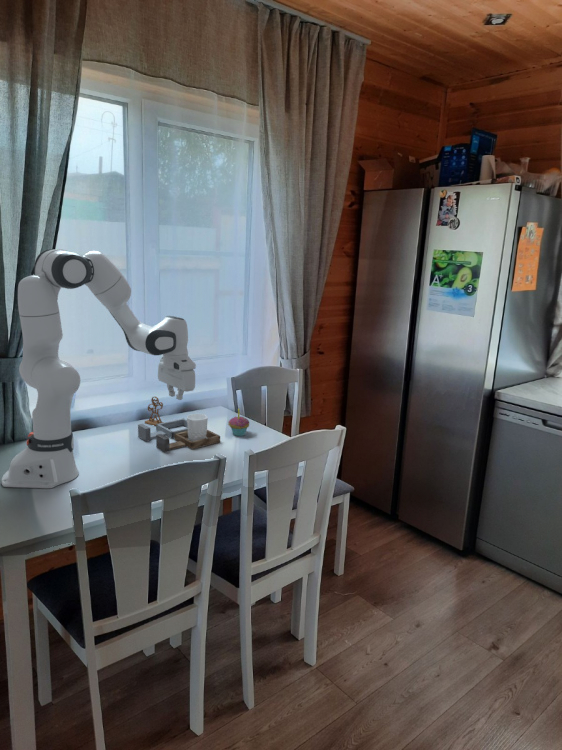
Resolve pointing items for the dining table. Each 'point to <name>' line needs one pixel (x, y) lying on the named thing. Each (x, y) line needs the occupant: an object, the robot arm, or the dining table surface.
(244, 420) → the cupcake
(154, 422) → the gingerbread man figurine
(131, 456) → the dining table surface
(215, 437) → the walnut frame
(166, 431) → the grey frame
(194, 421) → the white cup
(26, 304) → the robot arm
